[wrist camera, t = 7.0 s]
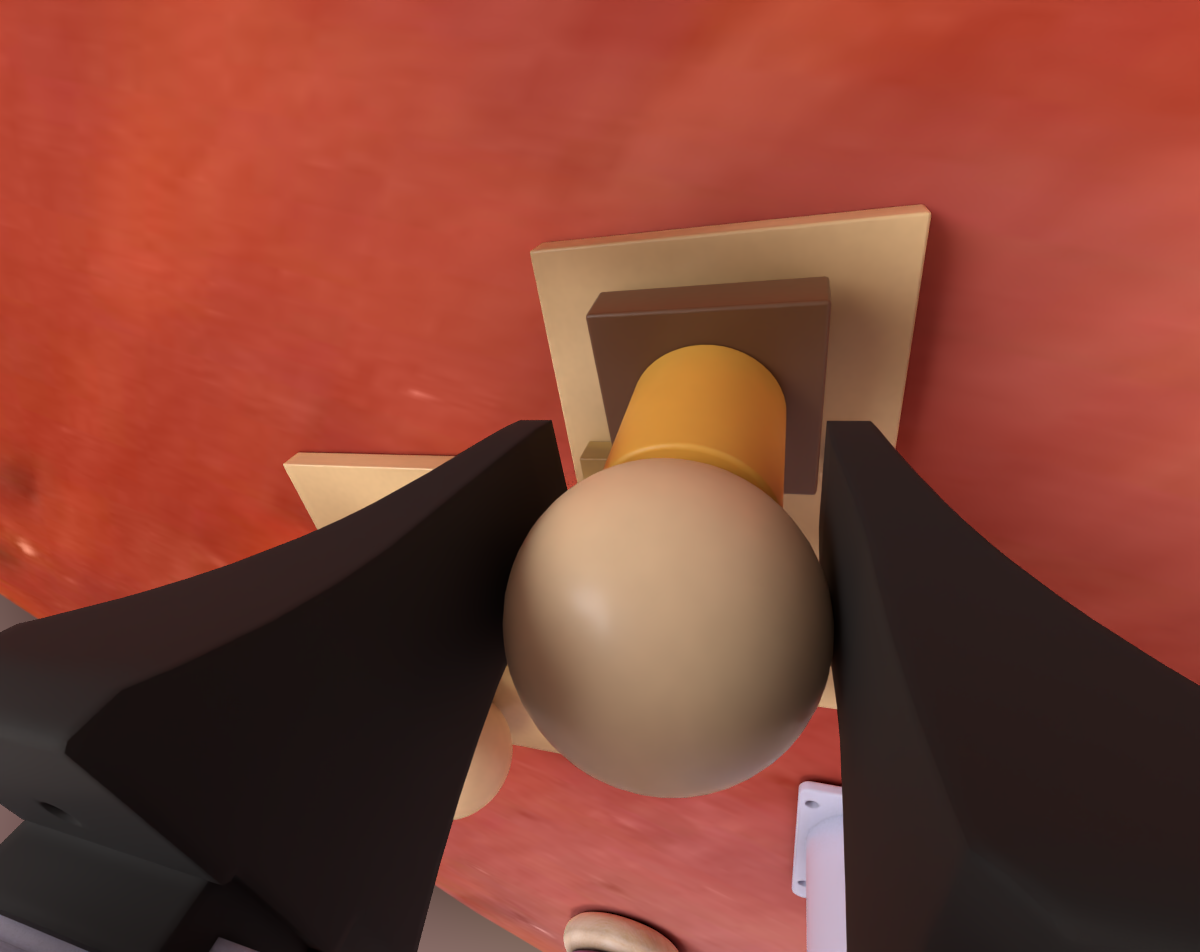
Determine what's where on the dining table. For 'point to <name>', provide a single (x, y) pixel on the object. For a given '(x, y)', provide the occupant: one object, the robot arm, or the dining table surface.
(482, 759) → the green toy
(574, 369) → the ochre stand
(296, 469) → the thin cream rectangular board
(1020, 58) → the dining table surface
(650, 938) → the stacking toy
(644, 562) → the ochre toy
